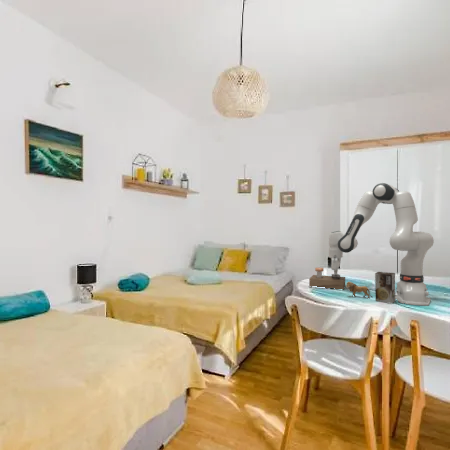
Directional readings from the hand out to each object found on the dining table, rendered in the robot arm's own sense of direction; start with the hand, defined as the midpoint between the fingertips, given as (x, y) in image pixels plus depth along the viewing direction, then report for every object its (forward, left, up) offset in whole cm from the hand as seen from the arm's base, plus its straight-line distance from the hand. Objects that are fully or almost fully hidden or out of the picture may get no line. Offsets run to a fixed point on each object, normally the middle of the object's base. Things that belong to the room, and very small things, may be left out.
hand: (335, 274), depth 217 cm
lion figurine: (-24, -15, -9) cm, 30 cm away
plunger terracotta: (0, +11, -4) cm, 12 cm away
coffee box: (-28, -30, -9) cm, 42 cm away
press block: (0, +5, -9) cm, 10 cm away
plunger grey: (0, 0, -8) cm, 8 cm away
